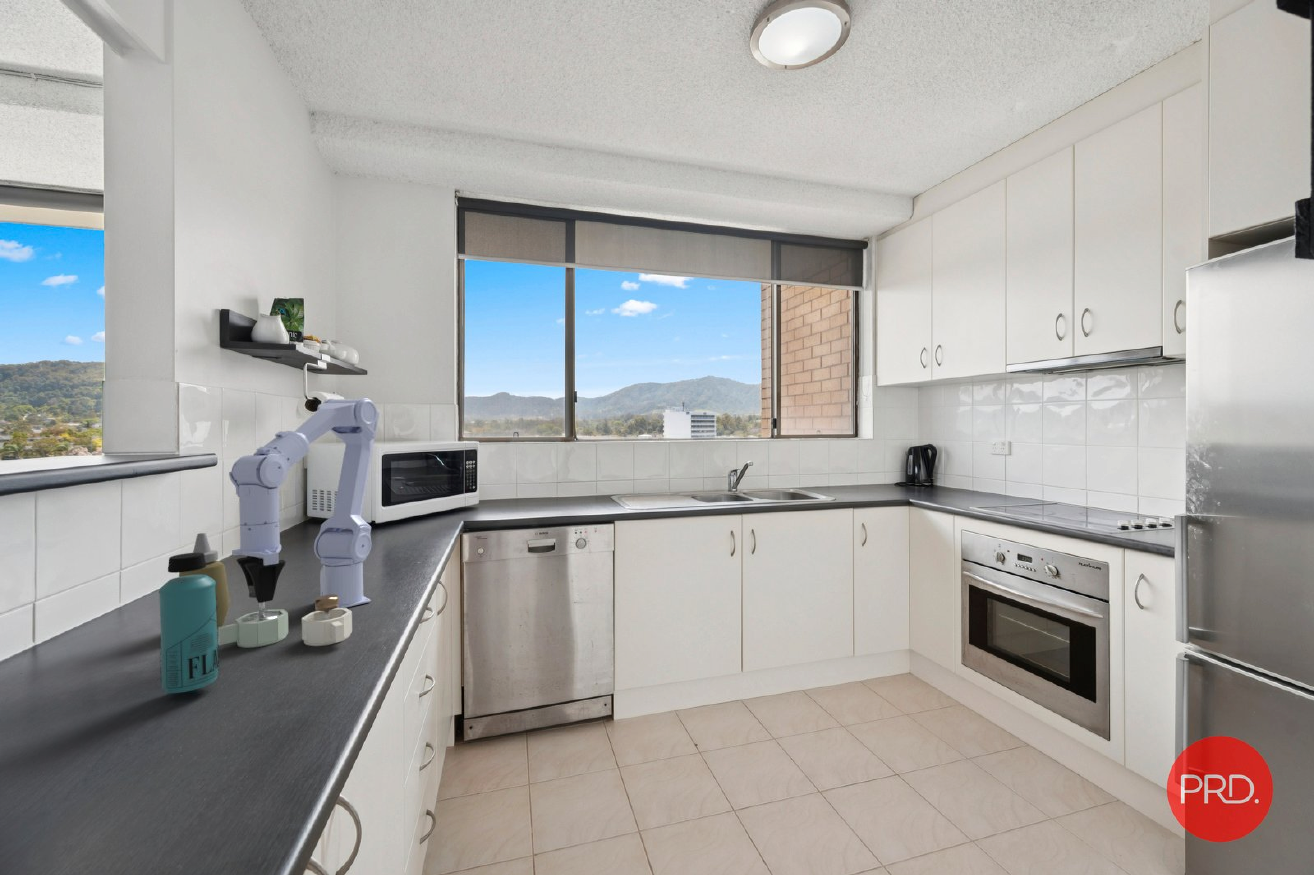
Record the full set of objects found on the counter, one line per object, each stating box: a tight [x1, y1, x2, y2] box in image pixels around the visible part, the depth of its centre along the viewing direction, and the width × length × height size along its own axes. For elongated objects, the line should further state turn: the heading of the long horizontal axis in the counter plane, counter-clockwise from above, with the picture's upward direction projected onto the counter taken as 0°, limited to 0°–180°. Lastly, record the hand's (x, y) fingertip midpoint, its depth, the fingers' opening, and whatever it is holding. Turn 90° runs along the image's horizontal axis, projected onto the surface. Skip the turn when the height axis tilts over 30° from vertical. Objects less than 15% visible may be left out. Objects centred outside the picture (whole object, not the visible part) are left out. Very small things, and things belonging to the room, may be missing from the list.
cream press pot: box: [301, 607, 353, 647], centre depth 98 cm, size 10×7×4 cm
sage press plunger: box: [245, 584, 279, 622], centre depth 98 cm, size 5×5×6 cm
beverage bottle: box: [158, 552, 220, 694], centre depth 79 cm, size 6×7×20 cm
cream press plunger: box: [314, 595, 339, 620], centre depth 99 cm, size 5×5×6 cm
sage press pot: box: [217, 608, 289, 649], centre depth 98 cm, size 10×7×4 cm
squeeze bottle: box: [178, 532, 231, 629], centre depth 104 cm, size 8×8×18 cm
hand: (261, 598), depth 98 cm, fingers open, 4 cm apart
